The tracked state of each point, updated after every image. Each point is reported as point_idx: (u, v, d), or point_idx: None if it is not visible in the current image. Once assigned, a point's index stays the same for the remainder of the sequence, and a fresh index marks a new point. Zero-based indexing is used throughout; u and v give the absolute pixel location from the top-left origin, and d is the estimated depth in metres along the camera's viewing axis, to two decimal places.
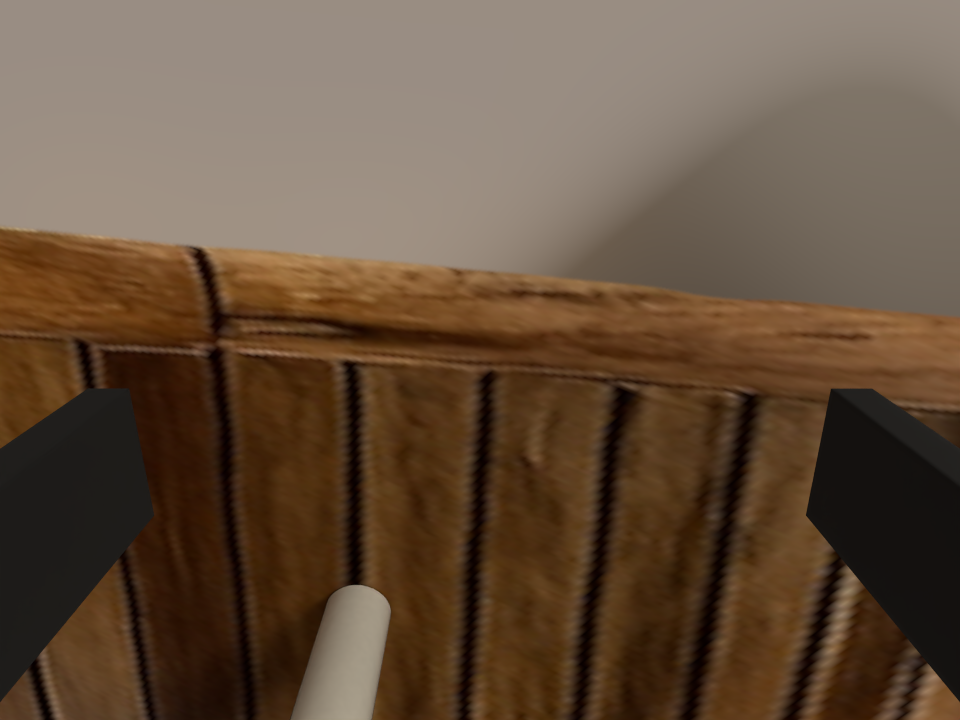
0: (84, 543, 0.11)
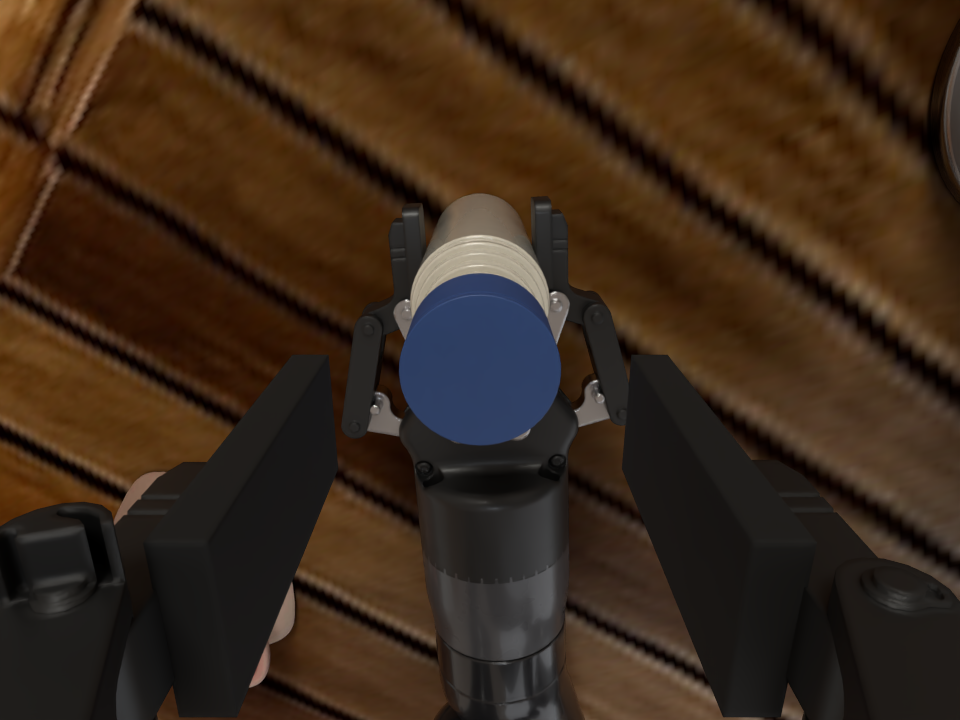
0: (311, 484, 0.12)
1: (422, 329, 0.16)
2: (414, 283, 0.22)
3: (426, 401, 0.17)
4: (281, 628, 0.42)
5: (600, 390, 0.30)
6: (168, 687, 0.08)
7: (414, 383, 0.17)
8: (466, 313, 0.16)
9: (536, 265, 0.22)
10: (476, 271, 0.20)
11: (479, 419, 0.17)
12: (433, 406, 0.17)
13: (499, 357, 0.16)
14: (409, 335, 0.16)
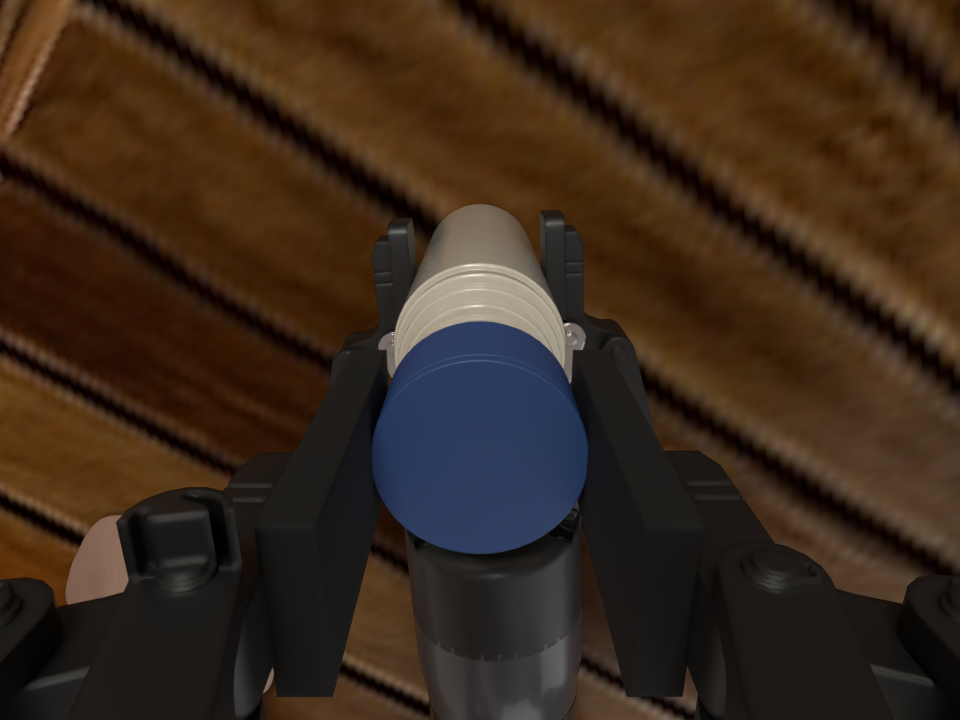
0: None
1: (401, 406, 0.12)
2: (398, 322, 0.18)
3: (407, 498, 0.12)
4: None
5: None
6: (271, 666, 0.08)
7: (391, 475, 0.12)
8: (461, 385, 0.12)
9: (550, 300, 0.18)
10: (475, 313, 0.15)
11: (479, 521, 0.13)
12: (417, 505, 0.12)
13: (506, 442, 0.12)
14: (383, 413, 0.12)
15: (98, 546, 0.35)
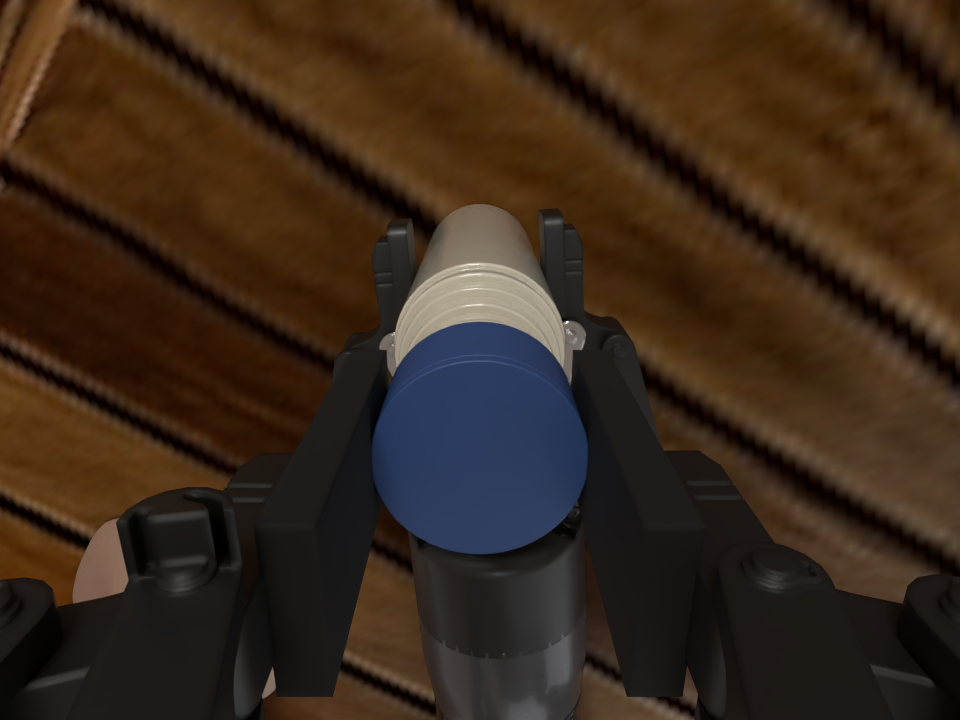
0: None
1: (467, 545, 0.13)
2: (398, 322, 0.18)
3: (551, 498, 0.12)
4: (265, 687, 0.38)
5: None
6: (271, 667, 0.08)
7: (536, 521, 0.13)
8: (419, 514, 0.13)
9: (548, 298, 0.18)
10: (474, 312, 0.16)
11: (539, 431, 0.12)
12: (553, 488, 0.12)
13: (445, 453, 0.12)
14: (482, 553, 0.13)
15: (104, 549, 0.35)
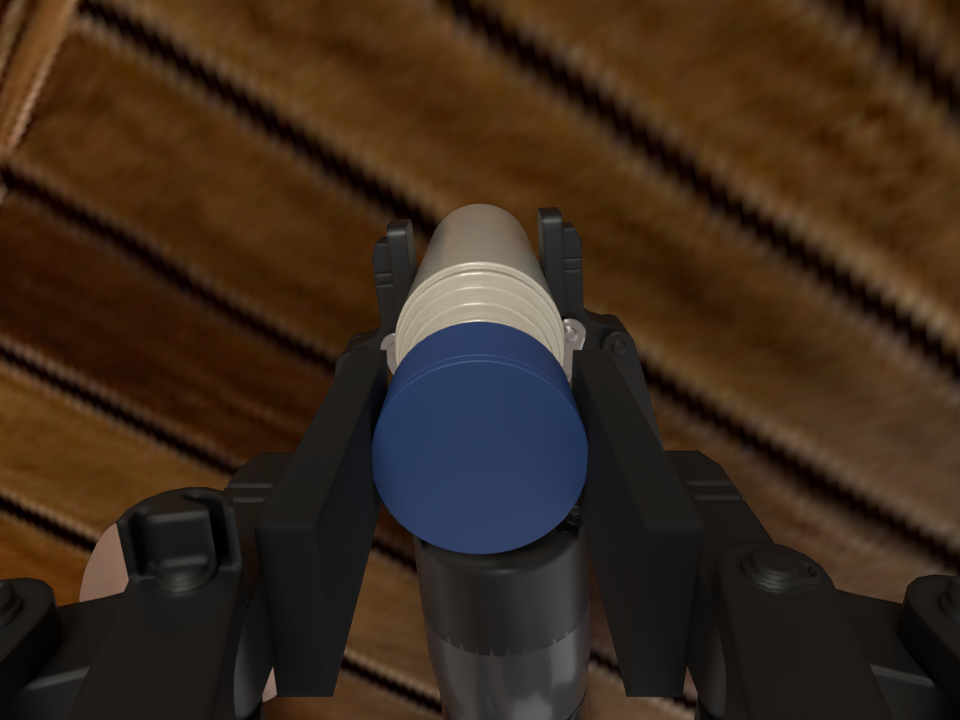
0: None
1: (571, 427, 0.12)
2: (399, 322, 0.18)
3: (475, 385, 0.12)
4: (272, 687, 0.38)
5: None
6: (271, 667, 0.08)
7: (507, 383, 0.12)
8: (562, 482, 0.12)
9: (547, 296, 0.18)
10: (473, 311, 0.16)
11: (417, 434, 0.12)
12: (463, 389, 0.12)
13: (487, 492, 0.12)
14: (572, 408, 0.12)
15: (110, 552, 0.35)
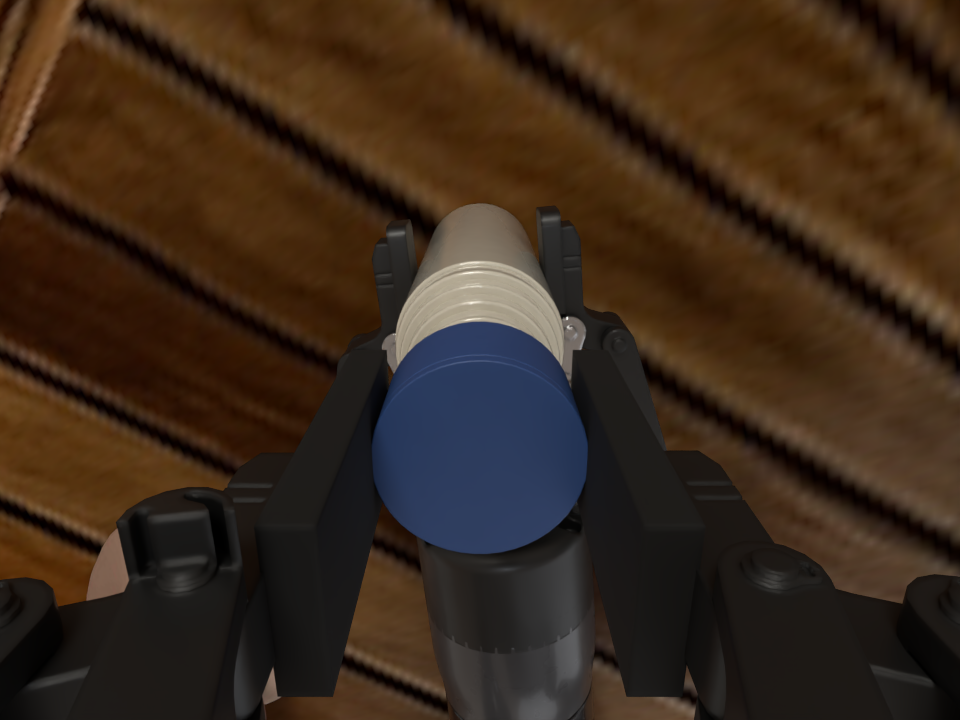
0: None
1: (395, 413, 0.12)
2: (399, 322, 0.18)
3: (411, 504, 0.12)
4: None
5: None
6: (271, 667, 0.08)
7: (393, 483, 0.12)
8: (453, 387, 0.12)
9: (546, 295, 0.18)
10: (472, 310, 0.16)
11: (485, 521, 0.13)
12: (421, 510, 0.13)
13: (504, 440, 0.12)
14: (379, 422, 0.12)
15: (116, 554, 0.35)
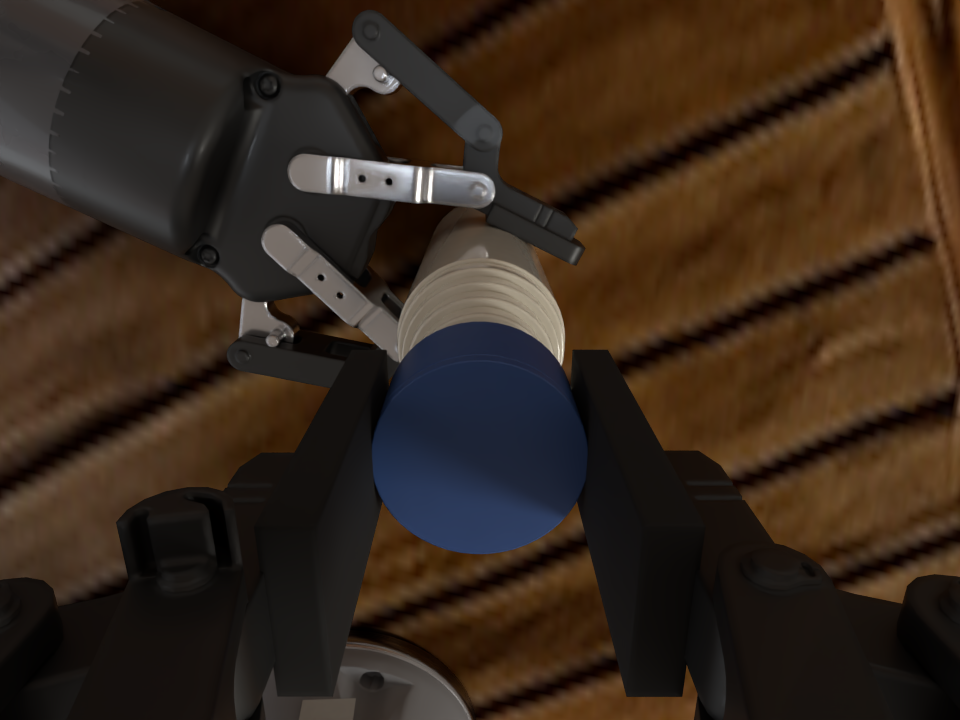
0: None
1: (396, 413, 0.12)
2: (544, 288, 0.18)
3: (412, 504, 0.12)
4: None
5: (280, 342, 0.25)
6: (271, 666, 0.08)
7: (393, 482, 0.12)
8: (453, 387, 0.12)
9: None
10: None
11: (485, 521, 0.13)
12: (422, 509, 0.13)
13: (504, 440, 0.12)
14: (379, 422, 0.12)
15: None
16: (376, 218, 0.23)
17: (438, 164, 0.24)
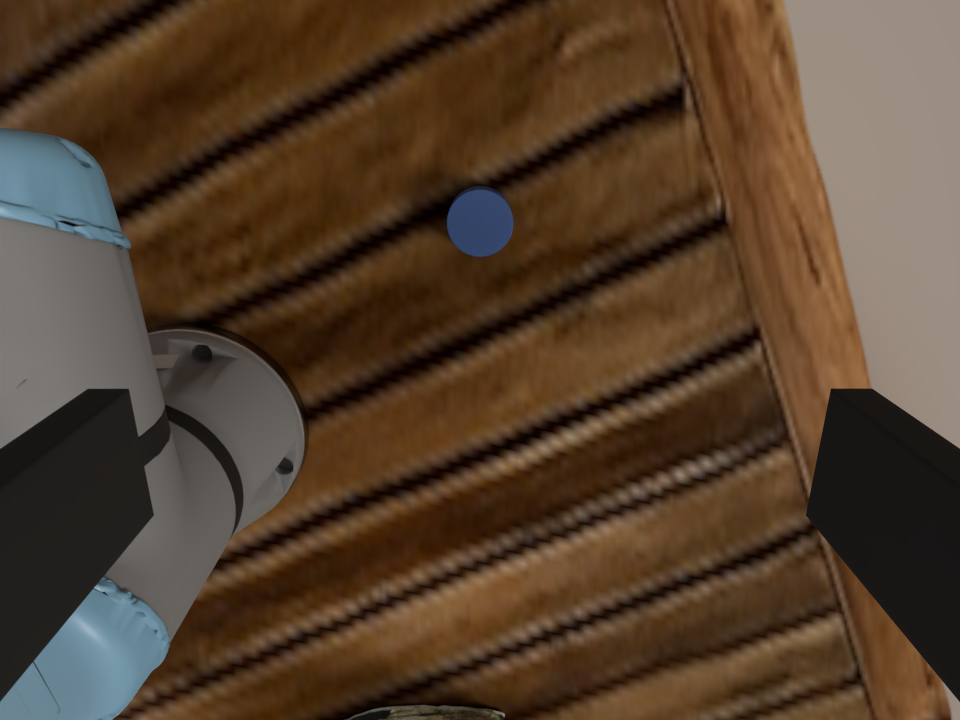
0: (84, 543, 0.11)
1: (455, 206, 0.40)
2: None
3: (459, 238, 0.40)
4: None
5: None
6: None
7: (453, 230, 0.40)
8: (472, 198, 0.40)
9: None
10: None
11: (481, 244, 0.40)
12: (462, 240, 0.40)
13: (487, 215, 0.40)
14: (450, 209, 0.40)
15: None
16: None
17: None
